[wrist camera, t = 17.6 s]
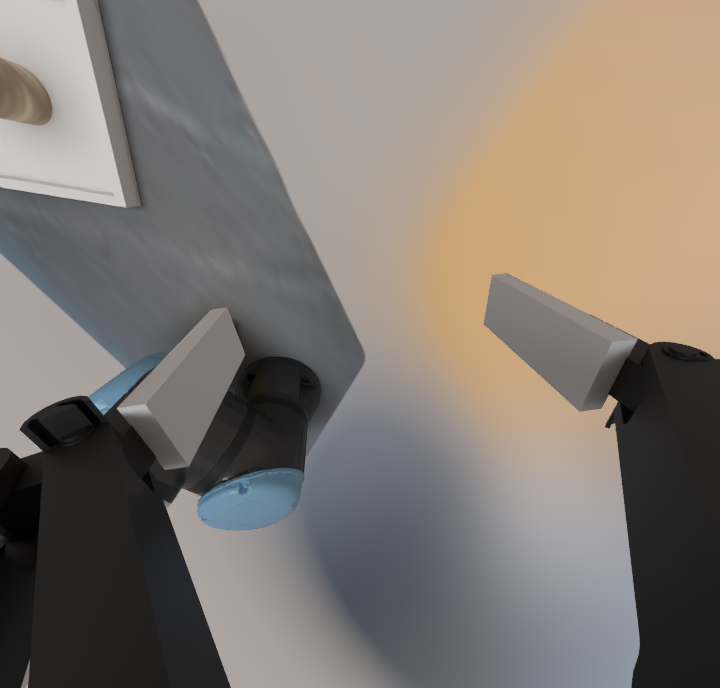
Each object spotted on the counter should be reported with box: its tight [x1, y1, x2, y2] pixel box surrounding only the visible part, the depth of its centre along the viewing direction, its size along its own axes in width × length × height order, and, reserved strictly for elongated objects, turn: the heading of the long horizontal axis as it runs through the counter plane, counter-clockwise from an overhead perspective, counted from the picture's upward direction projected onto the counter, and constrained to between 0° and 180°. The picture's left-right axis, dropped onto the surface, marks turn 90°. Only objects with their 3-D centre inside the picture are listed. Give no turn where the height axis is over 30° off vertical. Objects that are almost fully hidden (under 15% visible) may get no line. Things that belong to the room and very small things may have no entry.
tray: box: [0, 0, 142, 208], centre depth 27 cm, size 18×18×3 cm
